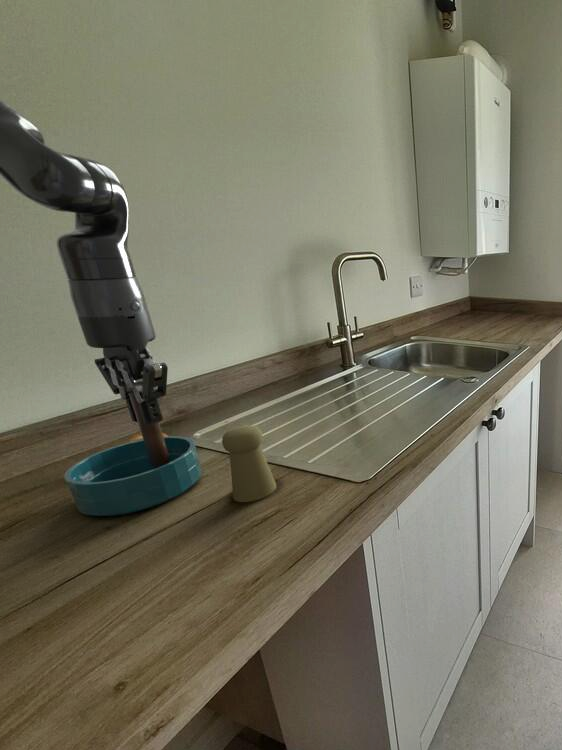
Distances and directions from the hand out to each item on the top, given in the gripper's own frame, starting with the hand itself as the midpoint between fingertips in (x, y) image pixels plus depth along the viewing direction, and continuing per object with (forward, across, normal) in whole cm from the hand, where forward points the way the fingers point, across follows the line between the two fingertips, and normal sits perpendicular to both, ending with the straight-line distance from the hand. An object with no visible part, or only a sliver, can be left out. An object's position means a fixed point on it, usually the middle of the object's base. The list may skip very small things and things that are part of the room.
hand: (148, 421), depth 64 cm
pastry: (+12, -14, +6) cm, 19 cm away
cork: (+12, +16, +4) cm, 20 cm away
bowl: (+11, -2, -2) cm, 12 cm away
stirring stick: (+9, 0, 0) cm, 9 cm away
